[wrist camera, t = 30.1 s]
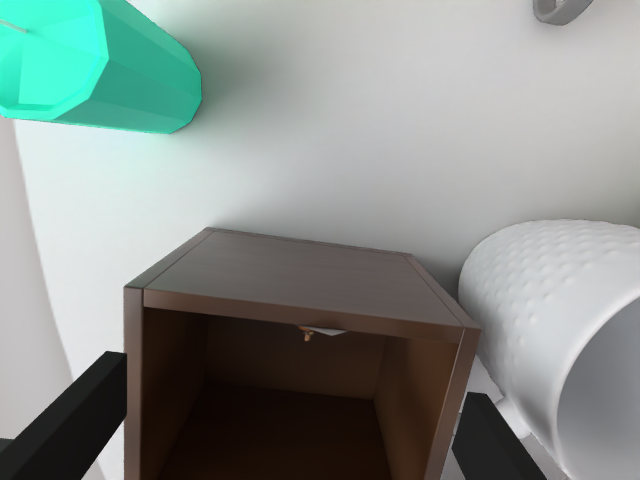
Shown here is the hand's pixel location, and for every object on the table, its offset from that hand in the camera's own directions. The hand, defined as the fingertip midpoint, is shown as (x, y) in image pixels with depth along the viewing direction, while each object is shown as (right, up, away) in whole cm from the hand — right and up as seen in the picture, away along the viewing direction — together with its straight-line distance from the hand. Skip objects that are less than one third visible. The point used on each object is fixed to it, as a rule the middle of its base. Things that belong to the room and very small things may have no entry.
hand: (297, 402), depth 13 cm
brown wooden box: (-1, 0, +13) cm, 13 cm away
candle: (-9, +16, +9) cm, 21 cm away
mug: (+14, +3, +12) cm, 19 cm away
